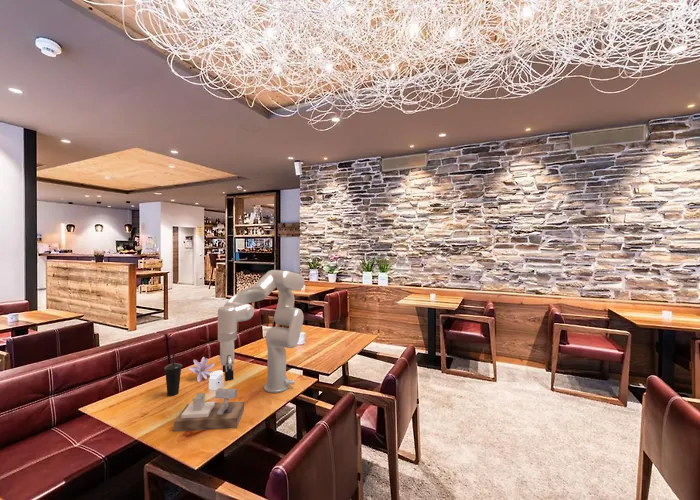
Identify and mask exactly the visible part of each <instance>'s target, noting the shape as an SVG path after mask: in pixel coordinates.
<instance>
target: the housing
mask: <svg viewBox="0 0 700 500" xmlns="http://www.w3.org/2000/svg"><path fill="white" fill-rule="evenodd" d="M189 404H190V403H187V404H186V406H185V407H184V408H182V409H183V410H182V411H181V412H180V413H179V414H178V416H177V417H176V418H175V419H174V421H173V432H175V433H176V432H187V431H188V432H190V431H193V432H194V431H208V430H225V429H226V430H227V429H238V426H239V424H240V423H241V422H240V421H241V420H242V417H243V414H244V412H245V401H229V408H228V409H227V410H225V411H224V413H223V414H217V411H218V410H219V409H220V408H221V406H222V405H223V404H224V401H223V402H215V406H214V407H213V409H212V411H211V412H210V414H209V416H208V417H200V418H181V415H182V413H183V412H184V411H185V409H186V408H187V407H188V406H189Z"/></svg>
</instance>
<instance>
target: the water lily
mask: <svg viewBox="0 0 700 500" xmlns="http://www.w3.org/2000/svg"><path fill="white" fill-rule="evenodd" d="M193 363H194V365H195V366H190V367H188V370H189V371H191V372H193V374H197V376H196V377H197V378H196V381H197V382H198V383H200V382H201V381H202V379H203V378H204V379H205V380H207V379H208V376H210V375H209V374H210V373H211V372H212V371H210V369H212V368H213V367H214V366H215V363H210V364H208V358H206V357H205V356H203V357H202V358H201V359H200V362H199V361H198V360H197V359H193ZM207 364H208V365H207Z"/></svg>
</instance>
